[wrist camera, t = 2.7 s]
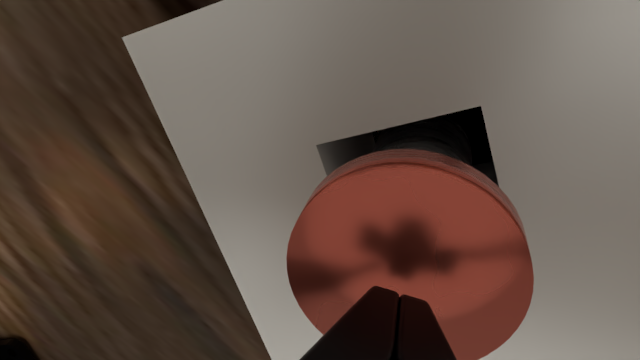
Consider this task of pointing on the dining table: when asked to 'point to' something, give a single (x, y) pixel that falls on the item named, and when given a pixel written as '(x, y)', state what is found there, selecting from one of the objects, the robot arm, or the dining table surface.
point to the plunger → (415, 238)
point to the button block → (405, 107)
